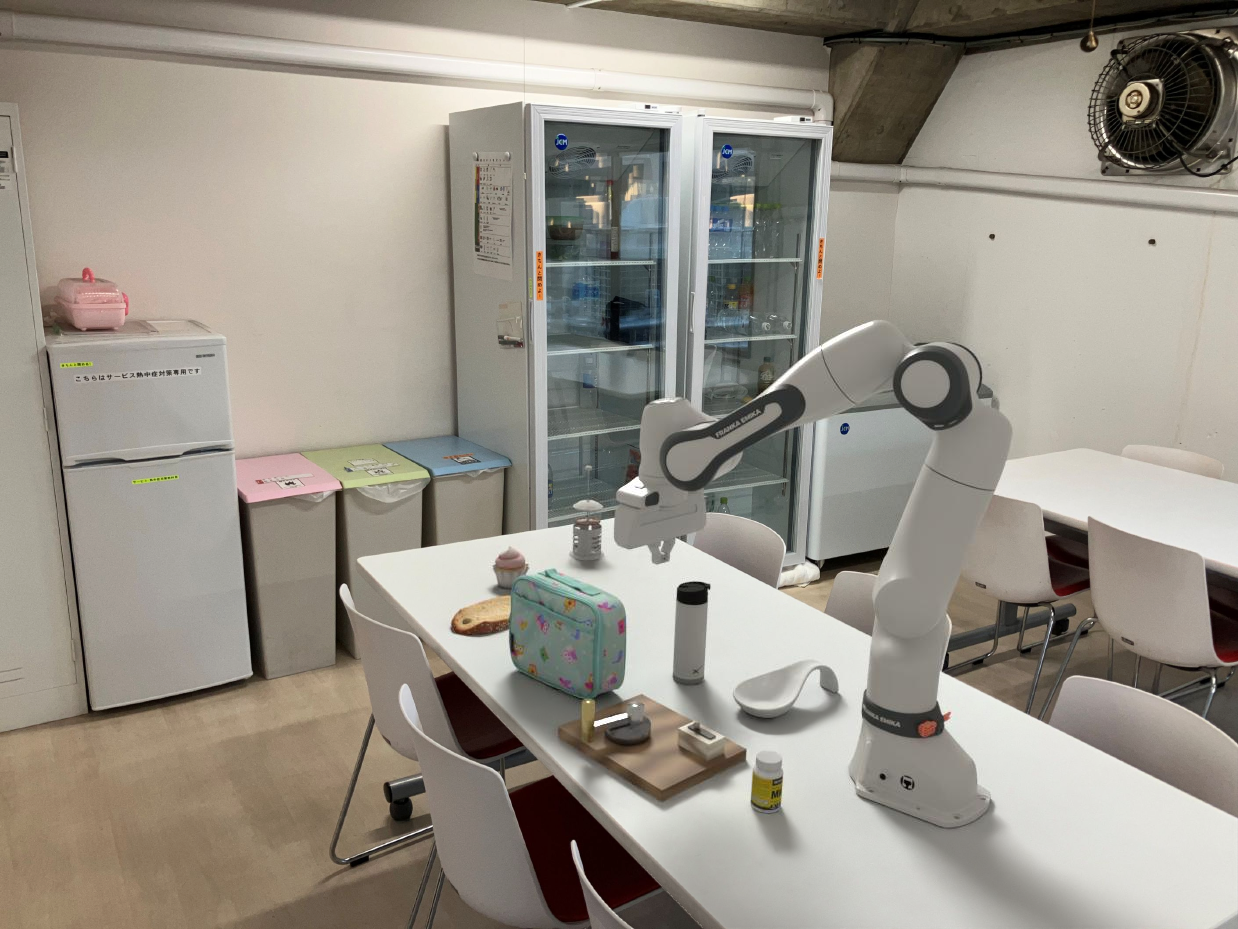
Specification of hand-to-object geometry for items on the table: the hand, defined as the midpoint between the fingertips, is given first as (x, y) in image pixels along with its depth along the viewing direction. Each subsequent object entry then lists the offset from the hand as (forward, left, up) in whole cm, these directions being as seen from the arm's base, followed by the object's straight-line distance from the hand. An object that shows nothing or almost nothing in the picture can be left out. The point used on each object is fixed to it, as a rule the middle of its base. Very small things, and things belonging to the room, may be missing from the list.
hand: (660, 562), depth 178 cm
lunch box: (+20, +6, -29) cm, 36 cm away
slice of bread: (+55, -1, -29) cm, 62 cm away
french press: (+77, -48, -29) cm, 95 cm away
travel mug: (+5, -14, -29) cm, 33 cm away
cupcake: (+70, -17, -29) cm, 78 cm away
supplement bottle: (-34, +9, -29) cm, 45 cm away
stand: (-10, +11, -29) cm, 32 cm away
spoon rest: (-14, -21, -29) cm, 39 cm away
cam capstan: (-6, +16, -27) cm, 31 cm away
